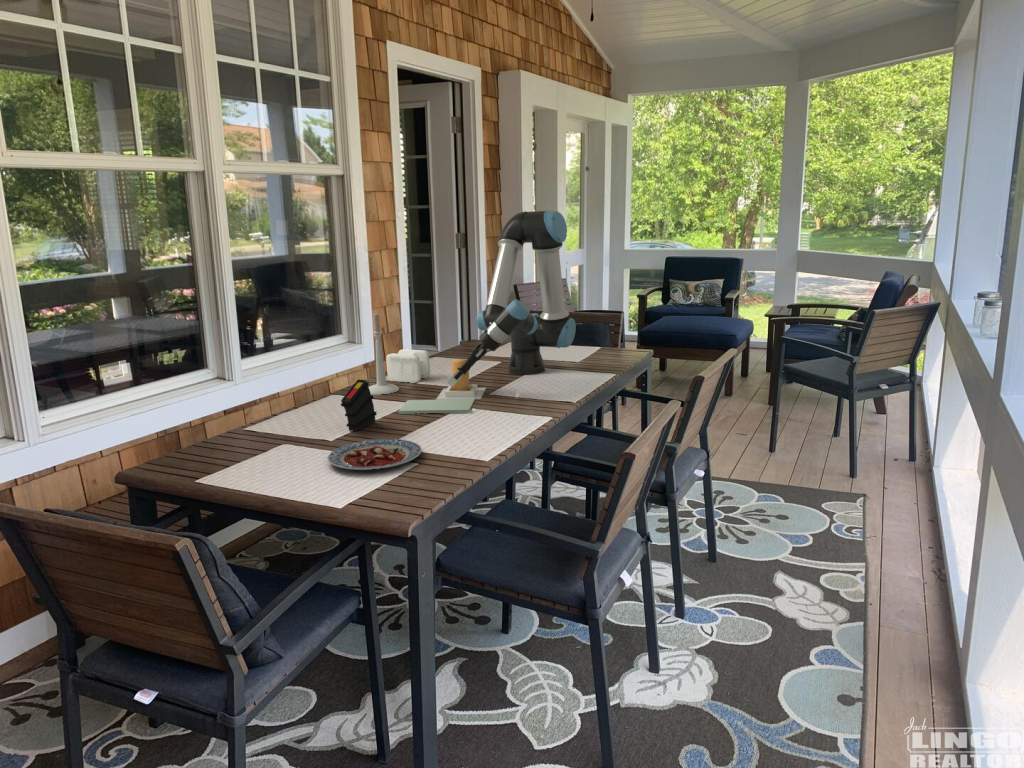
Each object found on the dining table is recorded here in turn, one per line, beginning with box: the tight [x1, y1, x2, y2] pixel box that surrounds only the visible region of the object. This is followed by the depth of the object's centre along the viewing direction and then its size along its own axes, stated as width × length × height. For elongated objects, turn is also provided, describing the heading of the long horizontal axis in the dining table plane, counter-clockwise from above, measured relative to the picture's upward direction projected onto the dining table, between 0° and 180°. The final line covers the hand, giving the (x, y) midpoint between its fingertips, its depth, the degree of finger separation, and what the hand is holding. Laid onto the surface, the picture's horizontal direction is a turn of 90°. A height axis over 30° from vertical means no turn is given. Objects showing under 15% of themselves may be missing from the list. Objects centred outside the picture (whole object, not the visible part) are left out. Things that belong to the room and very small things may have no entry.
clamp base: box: [435, 384, 487, 400], centre depth 279 cm, size 16×16×3 cm
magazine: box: [340, 379, 377, 432], centre depth 244 cm, size 4×13×15 cm, turn 155°
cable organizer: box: [385, 348, 431, 384], centre depth 306 cm, size 15×11×12 cm
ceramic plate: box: [327, 438, 423, 471], centre depth 213 cm, size 26×26×3 cm
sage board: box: [398, 399, 476, 415], centre depth 264 cm, size 24×14×1 cm, turn 85°
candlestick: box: [368, 313, 400, 396], centre depth 288 cm, size 13×13×30 cm
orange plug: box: [451, 358, 471, 391], centre depth 278 cm, size 6×6×12 cm
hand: (451, 382), depth 278 cm, fingers closed on orange plug, 6 cm apart
